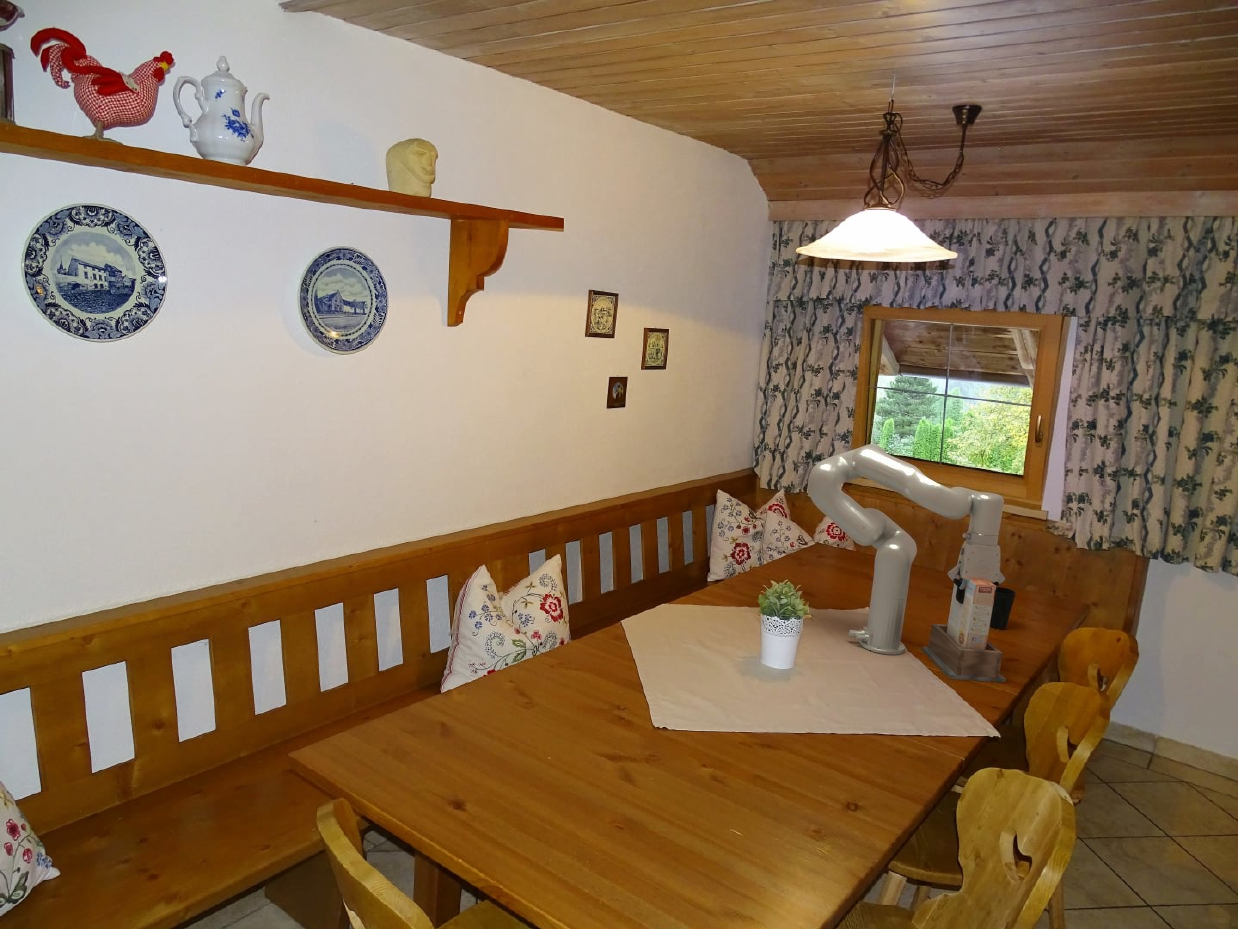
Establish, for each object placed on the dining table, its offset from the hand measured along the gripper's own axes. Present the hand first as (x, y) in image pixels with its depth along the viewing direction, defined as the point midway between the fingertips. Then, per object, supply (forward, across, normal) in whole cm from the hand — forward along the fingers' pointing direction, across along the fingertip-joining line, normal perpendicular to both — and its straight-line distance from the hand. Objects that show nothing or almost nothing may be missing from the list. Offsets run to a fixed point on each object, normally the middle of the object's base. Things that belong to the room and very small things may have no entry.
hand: (972, 602), depth 239 cm
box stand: (+18, 0, 0) cm, 18 cm away
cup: (+18, +26, +35) cm, 47 cm away
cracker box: (+14, 0, 0) cm, 14 cm away
